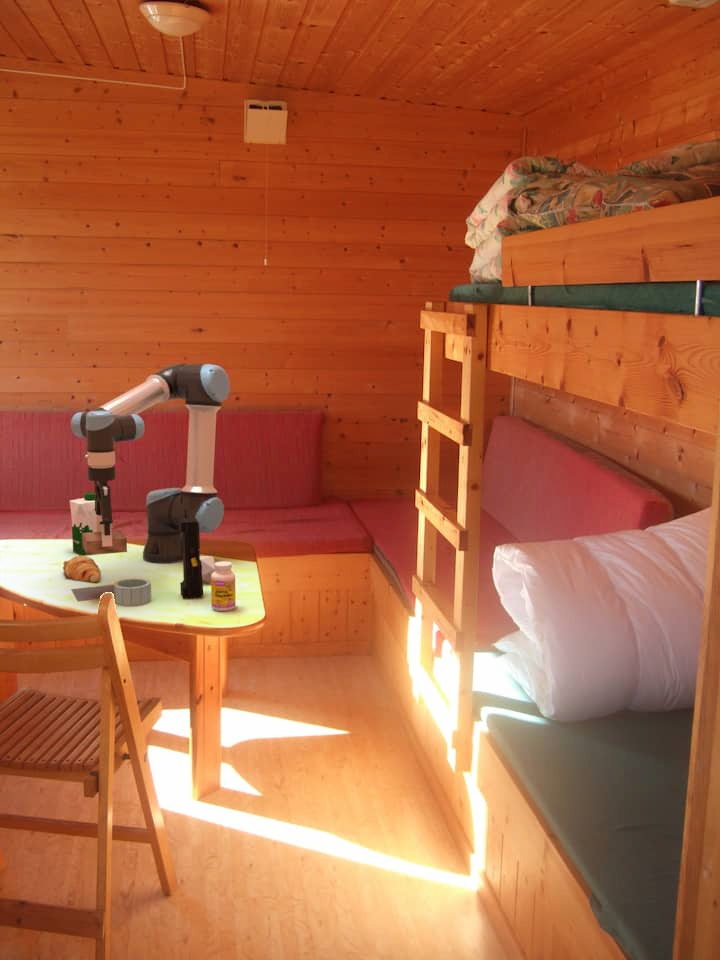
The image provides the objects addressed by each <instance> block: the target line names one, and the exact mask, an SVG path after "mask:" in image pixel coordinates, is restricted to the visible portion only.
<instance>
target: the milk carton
mask: <svg viewBox="0 0 720 960" xmlns="http://www.w3.org/2000/svg"><path fill="white" fill-rule="evenodd" d="M83 495H84V497H83V498H76V499H71V500H69V507H70V517H71V536H72V552H73V553H76V554H77V555H82V556H88V555H87V554H86V552H85V550H84V548H83V547H82V533H89V532H97V531H96V513H95V512H96V511H95V510H94V509H95V492H85V493H84V494H83Z"/></svg>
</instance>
